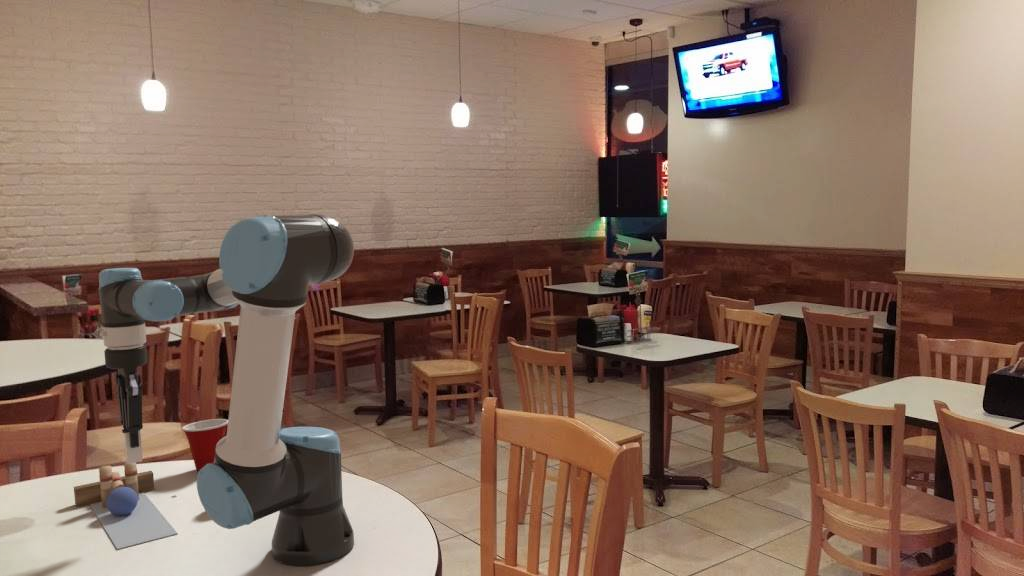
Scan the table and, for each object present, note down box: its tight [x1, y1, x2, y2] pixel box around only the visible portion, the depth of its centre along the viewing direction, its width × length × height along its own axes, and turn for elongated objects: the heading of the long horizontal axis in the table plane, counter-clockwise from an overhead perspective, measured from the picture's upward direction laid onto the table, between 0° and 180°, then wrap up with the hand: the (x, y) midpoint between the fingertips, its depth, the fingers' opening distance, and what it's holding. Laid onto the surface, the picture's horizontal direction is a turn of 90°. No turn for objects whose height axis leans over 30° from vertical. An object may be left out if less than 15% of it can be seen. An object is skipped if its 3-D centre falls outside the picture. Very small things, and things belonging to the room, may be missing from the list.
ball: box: [106, 487, 138, 516], centre depth 167 cm, size 6×6×6 cm
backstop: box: [73, 470, 155, 507], centre depth 178 cm, size 2×16×4 cm, turn 127°
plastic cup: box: [181, 418, 228, 474], centre depth 194 cm, size 11×11×12 cm
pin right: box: [123, 461, 139, 500], centre depth 174 cm, size 2×2×9 cm
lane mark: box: [89, 492, 178, 551], centre depth 165 cm, size 29×11×1 cm, turn 37°
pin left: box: [98, 465, 113, 508], centre depth 171 cm, size 2×2×9 cm
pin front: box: [112, 471, 124, 490], centre depth 173 cm, size 2×2×9 cm
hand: (134, 461), depth 157 cm, fingers closed
